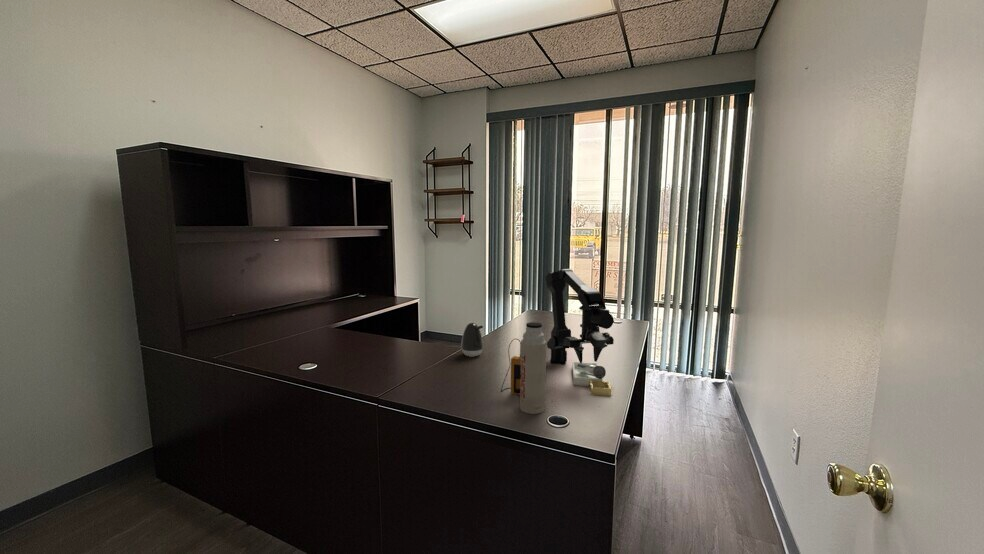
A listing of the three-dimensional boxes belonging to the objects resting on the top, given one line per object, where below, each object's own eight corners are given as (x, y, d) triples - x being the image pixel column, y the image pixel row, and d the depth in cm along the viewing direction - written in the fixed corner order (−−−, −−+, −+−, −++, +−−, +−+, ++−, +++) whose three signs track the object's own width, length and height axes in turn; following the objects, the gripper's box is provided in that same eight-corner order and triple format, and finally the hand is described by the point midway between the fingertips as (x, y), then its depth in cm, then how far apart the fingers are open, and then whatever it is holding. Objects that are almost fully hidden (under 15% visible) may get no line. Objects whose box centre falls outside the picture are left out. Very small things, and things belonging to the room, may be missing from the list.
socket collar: (591, 394, 137) (591, 387, 137) (589, 386, 144) (589, 380, 144) (611, 395, 136) (611, 389, 136) (608, 388, 143) (609, 381, 143)
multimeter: (546, 387, 143) (547, 334, 141) (541, 398, 134) (542, 341, 131) (508, 382, 148) (508, 331, 146) (500, 392, 138) (500, 337, 136)
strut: (574, 371, 156) (593, 376, 143) (578, 360, 157) (596, 364, 144) (584, 375, 157) (603, 380, 144) (587, 364, 158) (607, 368, 145)
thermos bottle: (522, 414, 122) (523, 326, 119) (518, 403, 130) (519, 320, 127) (547, 413, 123) (549, 326, 120) (541, 402, 131) (543, 320, 127)
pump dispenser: (478, 359, 174) (478, 326, 172) (457, 357, 178) (457, 324, 176) (486, 353, 183) (487, 321, 182) (466, 350, 187) (466, 319, 185)
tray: (573, 385, 146) (574, 377, 145) (572, 368, 163) (572, 361, 163) (602, 387, 144) (602, 379, 143) (597, 370, 162) (597, 363, 161)
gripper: (578, 329, 140) (577, 371, 141) (623, 326, 145) (621, 366, 147) (563, 322, 150) (562, 362, 152) (606, 319, 156) (604, 357, 157)
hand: (588, 362), depth 152 cm, fingers open, 6 cm apart
